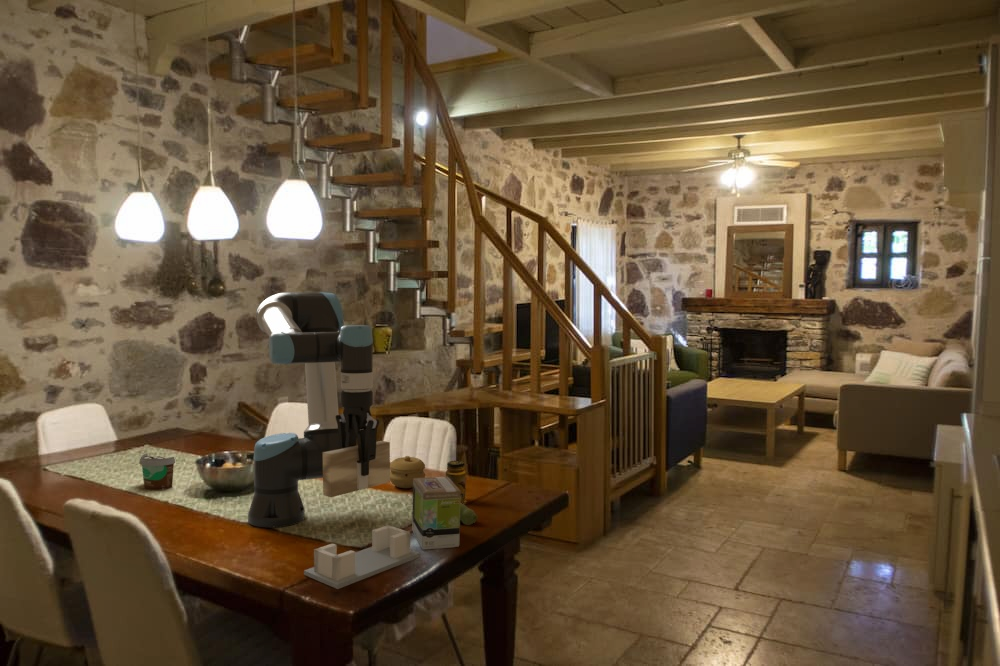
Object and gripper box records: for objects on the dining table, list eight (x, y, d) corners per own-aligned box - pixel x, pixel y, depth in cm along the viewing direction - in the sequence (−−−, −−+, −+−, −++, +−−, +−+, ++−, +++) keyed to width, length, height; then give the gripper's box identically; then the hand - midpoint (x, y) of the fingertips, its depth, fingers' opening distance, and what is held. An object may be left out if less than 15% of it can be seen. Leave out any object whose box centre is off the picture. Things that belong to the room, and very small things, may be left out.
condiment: (470, 502, 226) (471, 463, 225) (446, 506, 221) (446, 467, 220) (458, 496, 232) (459, 458, 231) (434, 500, 227) (434, 461, 226)
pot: (431, 488, 241) (432, 457, 240) (399, 493, 234) (399, 462, 233) (414, 479, 250) (414, 450, 249) (382, 484, 243) (382, 454, 243)
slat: (323, 495, 173) (322, 452, 172) (381, 480, 187) (381, 440, 186) (331, 497, 171) (330, 454, 170) (389, 482, 185) (389, 442, 184)
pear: (453, 496, 212) (482, 508, 207) (450, 514, 213) (479, 526, 208) (441, 501, 208) (471, 513, 203) (439, 519, 209) (468, 531, 204)
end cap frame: (303, 574, 169) (303, 548, 169) (386, 545, 189) (386, 522, 188) (337, 589, 162) (337, 562, 161) (420, 556, 181) (420, 532, 181)
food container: (130, 488, 236) (130, 457, 235) (146, 483, 241) (146, 452, 240) (160, 492, 231) (159, 461, 230) (175, 487, 237) (175, 456, 236)
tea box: (461, 547, 188) (461, 489, 187) (421, 551, 185) (422, 492, 184) (448, 528, 202) (448, 474, 201) (411, 531, 199) (411, 476, 198)
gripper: (322, 388, 180) (323, 484, 181) (366, 394, 169) (367, 496, 171) (347, 385, 185) (348, 479, 187) (391, 391, 175) (392, 489, 176)
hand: (357, 487), depth 179 cm, fingers closed on slat, 3 cm apart
